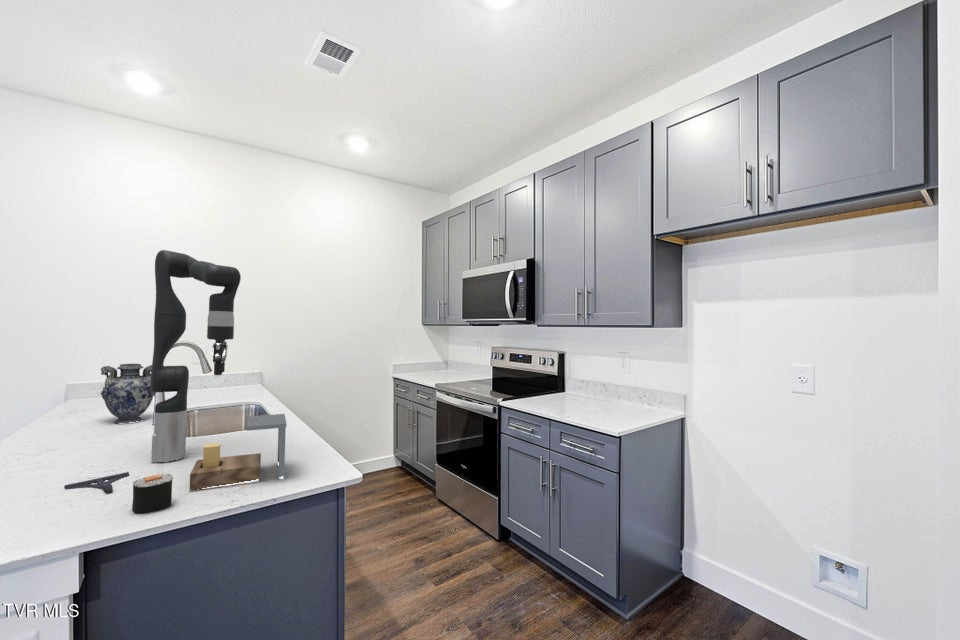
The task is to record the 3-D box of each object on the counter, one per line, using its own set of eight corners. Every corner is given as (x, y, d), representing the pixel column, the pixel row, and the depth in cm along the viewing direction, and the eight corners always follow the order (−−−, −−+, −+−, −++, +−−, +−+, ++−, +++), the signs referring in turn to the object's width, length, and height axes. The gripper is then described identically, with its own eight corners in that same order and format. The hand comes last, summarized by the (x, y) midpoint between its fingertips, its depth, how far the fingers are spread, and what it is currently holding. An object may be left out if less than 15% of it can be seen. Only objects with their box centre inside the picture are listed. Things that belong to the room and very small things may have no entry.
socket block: (189, 491, 119) (190, 474, 120) (196, 475, 132) (197, 459, 132) (259, 481, 128) (260, 465, 128) (260, 467, 140) (260, 453, 140)
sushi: (175, 506, 110) (176, 476, 110) (134, 517, 103) (136, 485, 103) (168, 497, 115) (169, 469, 115) (129, 507, 109) (130, 476, 109)
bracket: (74, 504, 111) (74, 494, 111) (64, 490, 120) (64, 480, 120) (141, 488, 123) (142, 479, 123) (127, 477, 131) (128, 468, 132)
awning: (244, 485, 125) (246, 426, 125) (247, 468, 139) (248, 416, 140) (284, 479, 130) (286, 423, 130) (283, 464, 144) (284, 413, 145)
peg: (218, 478, 127) (219, 446, 127) (202, 480, 125) (203, 447, 125) (219, 474, 130) (220, 442, 131) (204, 476, 129) (205, 444, 129)
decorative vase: (155, 415, 215) (157, 361, 215) (157, 422, 200) (158, 365, 200) (100, 420, 201) (101, 363, 201) (97, 429, 187) (99, 367, 187)
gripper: (232, 325, 133) (230, 375, 133) (235, 325, 146) (233, 371, 145) (204, 325, 130) (202, 376, 129) (210, 324, 142) (208, 371, 142)
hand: (219, 373), depth 137 cm, fingers open, 8 cm apart
